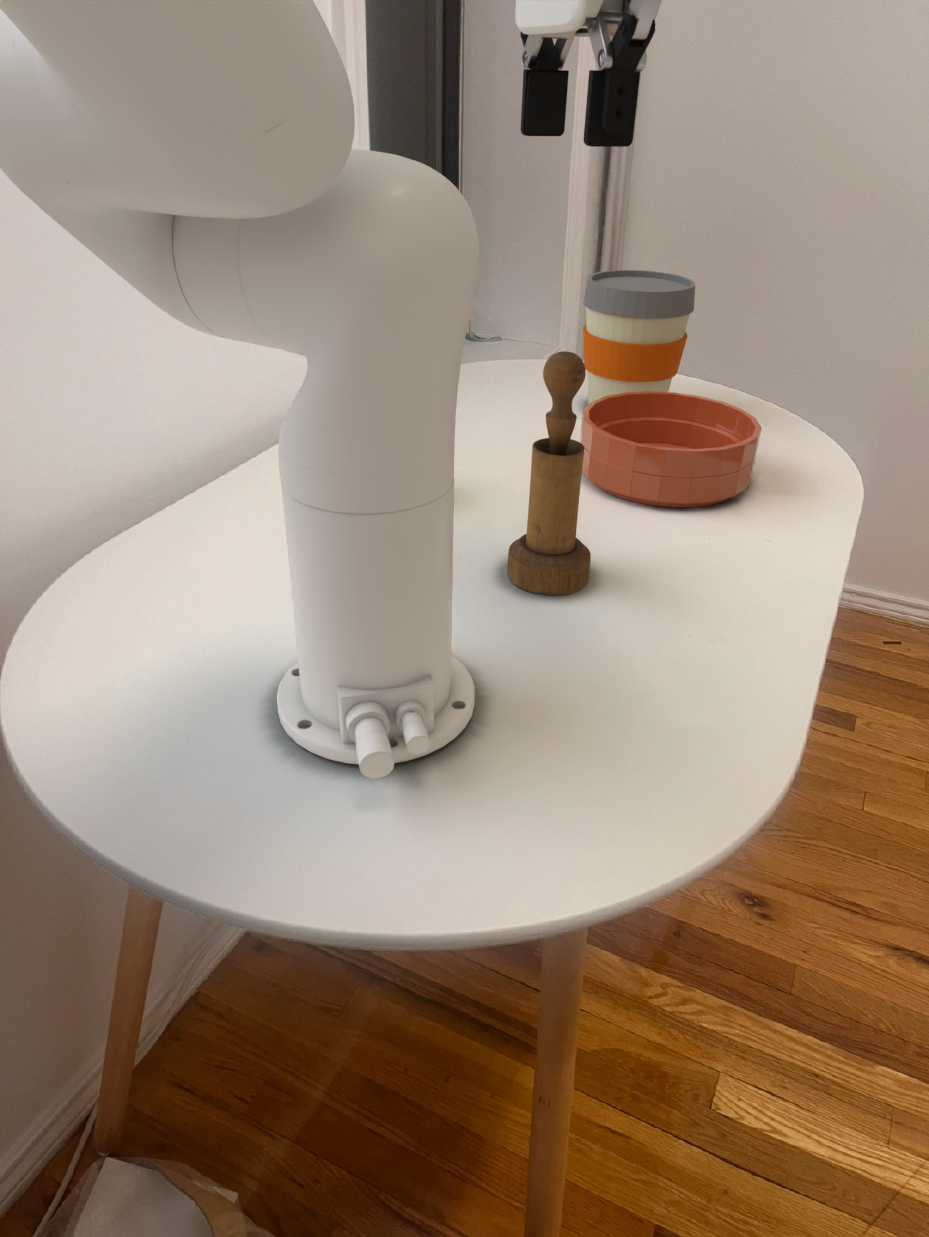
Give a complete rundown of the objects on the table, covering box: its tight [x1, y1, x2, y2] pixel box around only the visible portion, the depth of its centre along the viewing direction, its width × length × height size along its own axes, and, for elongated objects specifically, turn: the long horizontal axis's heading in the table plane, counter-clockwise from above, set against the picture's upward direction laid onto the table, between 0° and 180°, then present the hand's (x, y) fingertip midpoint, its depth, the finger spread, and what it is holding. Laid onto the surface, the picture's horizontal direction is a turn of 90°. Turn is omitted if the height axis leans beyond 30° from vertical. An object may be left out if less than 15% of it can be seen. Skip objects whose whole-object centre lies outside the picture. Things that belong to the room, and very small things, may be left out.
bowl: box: [579, 391, 763, 508], centre depth 89 cm, size 17×17×6 cm
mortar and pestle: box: [506, 350, 592, 596], centre depth 67 cm, size 7×6×18 cm
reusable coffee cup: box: [582, 269, 696, 404], centre depth 104 cm, size 13×13×15 cm
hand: (572, 140), depth 59 cm, fingers open, 9 cm apart
